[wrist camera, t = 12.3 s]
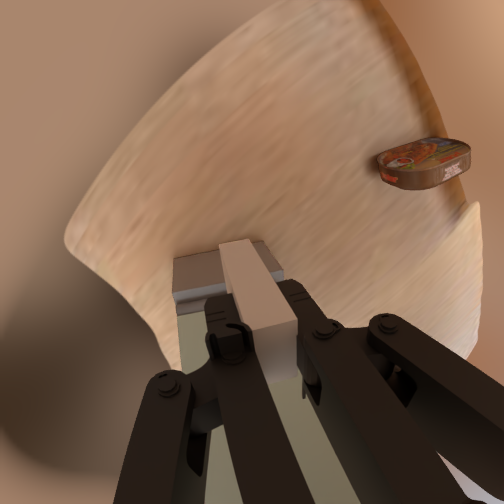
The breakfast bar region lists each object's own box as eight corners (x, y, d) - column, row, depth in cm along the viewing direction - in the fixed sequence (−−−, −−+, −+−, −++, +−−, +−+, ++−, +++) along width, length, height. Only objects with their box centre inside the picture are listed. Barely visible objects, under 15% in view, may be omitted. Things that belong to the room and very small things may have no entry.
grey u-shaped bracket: (275, 382, 42) (288, 414, 35) (216, 396, 40) (223, 430, 34) (262, 241, 31) (283, 269, 25) (173, 258, 29) (171, 292, 23)
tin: (436, 134, 30) (481, 142, 23) (439, 154, 32) (483, 165, 24) (362, 158, 30) (411, 169, 22) (367, 182, 31) (414, 199, 24)
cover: (390, 535, 7) (399, 536, 6) (234, 583, 5) (231, 588, 5) (277, 291, 25) (277, 280, 25) (179, 312, 24) (175, 301, 23)
